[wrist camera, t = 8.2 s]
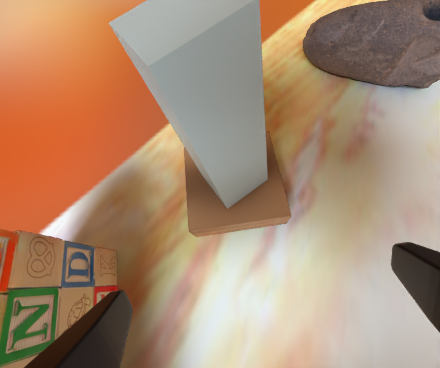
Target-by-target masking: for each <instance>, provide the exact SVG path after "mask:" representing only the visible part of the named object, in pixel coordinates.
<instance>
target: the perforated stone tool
mask: <svg viewBox="0 0 440 368" xmlns="http://www.w3.org/2000/svg"><path fill="white" fill-rule="evenodd" d="M303 49H304V53H305V55H306V57H307V58H308V59H309V60H310V61H311V62H312V63H313V64H314V65H315V66H317V67H319V68H321V69H322V70H324V71H327V72H329V73H332V74H335V75H339V76H345V77H351V78H352V79H355V80H360V81H365V82H370V83H374V84H378V85H386V86H390V85H391V86H397V87H400V86H402V85H409V86H417V87H419V88H428V87H429V86H430V85H431V84H432V83H434V82H436V81H438V80H440V0H387V1H379V2H378V1H377V2H370V3H365V4H360V5H354V6H350V7H346V8H342V9H339V10H337V11H334V12H332V13H329V14H327V15H325V16H323V17H321V18H320V19H318V20H317V21H316V22H315V23H313V24H311V26H310V28H309V29H308V31H307V33H306V37H305V38H304V40H303Z"/></svg>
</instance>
